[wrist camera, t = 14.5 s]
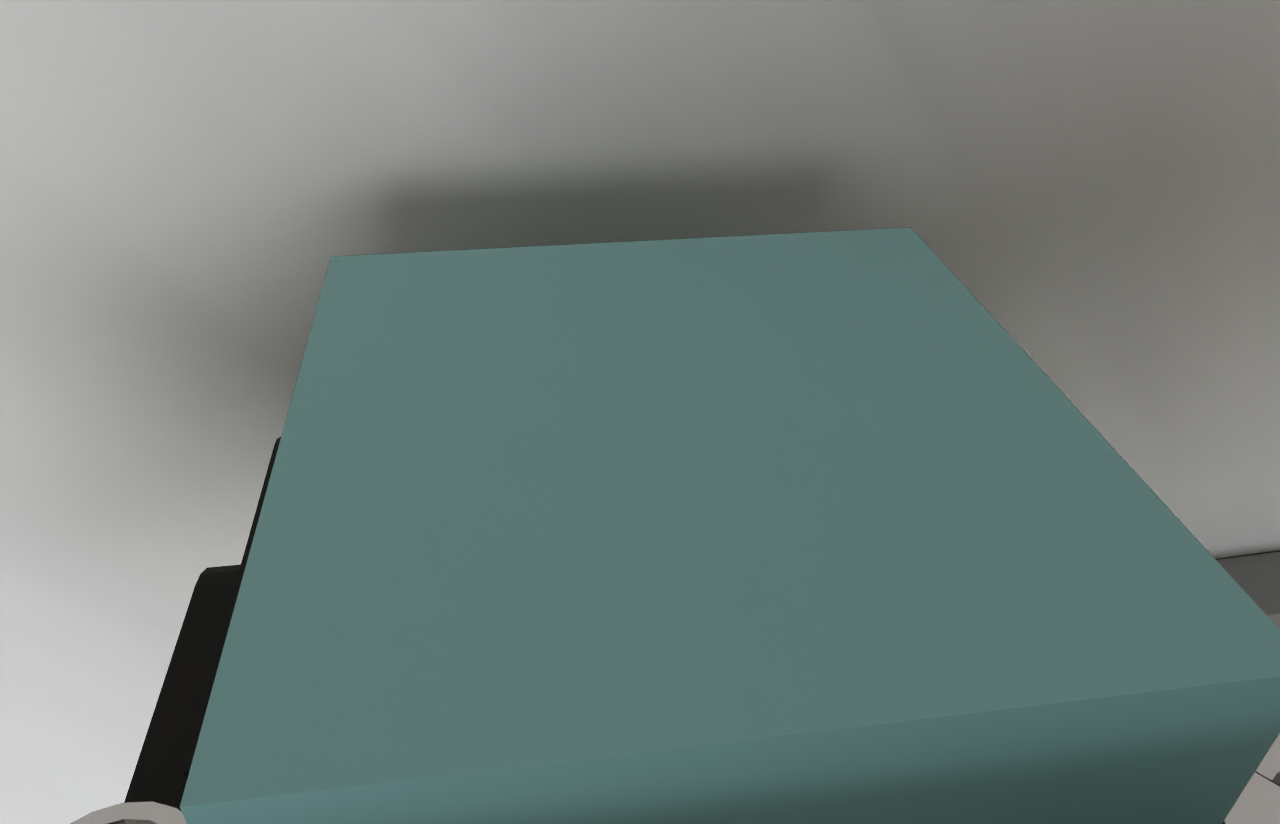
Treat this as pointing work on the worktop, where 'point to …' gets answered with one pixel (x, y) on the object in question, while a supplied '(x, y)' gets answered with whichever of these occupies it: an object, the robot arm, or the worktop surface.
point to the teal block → (713, 561)
